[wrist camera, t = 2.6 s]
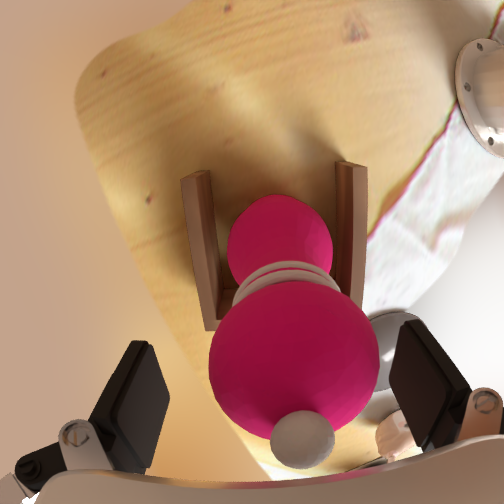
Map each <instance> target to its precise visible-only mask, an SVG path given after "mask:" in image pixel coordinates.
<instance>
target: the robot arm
mask: <svg viewBox="0 0 504 504" xmlns="http://www.w3.org/2000/svg"><path fill="white" fill-rule="evenodd" d="M455 85H456V91H457V97H458V101H459V104H460V108H461V111H462V113H463V116H464V118H465V121H466V123H467V125H468V127H469V129H470V131H471V132H472V134H473V135H474V137H475V138H476V140H477V141H478V142H479V143H480V144H481V145H482V147H483V148H484V149H485V150H487V151H488V152H489V153H491V154H492V155H494V156H497V157H499V158H503V159H504V45H501V44H500V43H498V42H496V41H493V40H491V39H485V38H482V39H476V40H474V41H471V42H469V43H468V44H466V45H465V46H464V47H463V48H462V50H461V51H460V53H459V56H458V58H457V61H456V69H455ZM389 384H390V387H391V389H392V391H393V393H394V395H395V397H396V400H397V402H398V404H399V406H400V408H401V411H402V413H403V415H404V417H405V420H406V422H407V424H408V427H409V429H410V431H411V434H412V436H413V438H414V441H415V443H416V445H417V446H418V447H421V448H422V451H423V453H422V454H419V455H415V456H412V457H409V458H405V459H402V460H398V461H394V462H391V463H387V464H383V465H379V466H375V467H370V468H366V469H361V470H356V471H351V472H345V473H339V474H333V475H327V476H320V477H312V478H304V479H293V480H281V481H263V482H214V481H213V482H212V481H196V480H183V479H173V478H163V477H156V476H148V475H145V471H146V468H150V466H151V463H152V460H153V456H154V453H155V449H156V446H157V442H158V439H159V435H160V432H161V428H162V425H163V421H164V418H165V415H166V411H167V408H168V404H169V401H170V395H169V391H168V389H167V386H166V383H165V380H164V378H163V375H162V372H161V369H160V367H159V363H158V360H157V357H156V354H155V352H154V348H153V346H152V345H151V344H148V342H147V341H137V340H134V341H131V343H130V344H129V346H128V348H127V350H126V351H125V353H124V355H123V357H122V359H121V361H120V363H119V364H118V366H117V368H116V370H115V371H114V373H113V374H112V376H111V377H110V379H109V381H108V383H107V385H106V387H105V388H104V390H103V392H102V394H101V396H100V398H99V400H98V402H97V404H96V406H95V408H94V409H93V411H92V413H91V415H90V418H89V419H88V421H86V420H81V419H77V420H72V421H70V422H68V423H66V424H65V425H64V426H63V427H62V428H61V430H60V432H59V435H58V439H59V441H58V442H57V443H54V444H51V445H49V446H47V447H44V448H42V449H39V450H37V451H34V452H32V453H30V454H27V455H25V456H23V457H21V458H20V459H19V460H18V461H17V463H16V465H15V474H11V473H9V474H7V475H6V476H5V477H3V478H2V479H1V480H0V504H504V407H503V401H502V398H501V396H500V395H499V394H498V393H497V392H496V391H494V390H493V389H490V388H478V389H476V390H474V391H472V389H471V388H470V386H469V384H468V383H467V381H466V380H465V378H464V377H463V376H462V374H461V373H460V371H459V370H458V368H457V367H456V366H455V364H454V363H453V362H452V360H451V359H450V357H449V356H448V355H447V353H446V352H445V351H444V349H443V348H442V347H441V346H440V344H439V343H438V342H437V340H436V339H435V338H434V337H433V335H432V334H431V332H430V331H429V330H428V329H427V327H426V326H425V325H424V324H423V322H422V321H421V320H420V319H413V320H407V321H405V322H404V324H403V325H401V326H400V329H399V334H398V339H397V344H396V348H395V353H394V357H393V361H392V365H391V369H390V373H389ZM135 473H137V474H135ZM141 474H143V475H141Z"/></svg>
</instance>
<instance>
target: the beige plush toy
mask: <svg viewBox="0 0 504 504" xmlns="http://www.w3.org/2000/svg"><path fill="white" fill-rule="evenodd" d="M375 438H376V443H377V446H378V452H379V454H380V455H381V456H383V457H386V458H388V459H387V463H391V462H394V461H395V458H396V456H398V455H399V454H401V453H403V452H405V451H406V450H407V449H409V448H411V447H413V446H414V445H415V444H416V443H415V441H414V438H413V436H412V434H411V431H410V429H409V427H408V424H407V422H406V420H405V417H404V415H403V413H402V411H401V410H399V411H396V412H394V413H392V414H390V415H389V416H388V417H387V418H386V419H385V420H383V421H382V422H381V423H380V424H379V426H378V428H377V430H376V435H375ZM387 463H386V464H387Z"/></svg>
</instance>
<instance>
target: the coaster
mask: <svg viewBox="0 0 504 504" xmlns="http://www.w3.org/2000/svg"><path fill="white" fill-rule="evenodd" d="M413 319H420V318H418V317H417V316H415V315H413V314H410V313H405V312H393V313H388V314H384V315H381V316H378V317H376V318H373V319H372V320H370V323H371V325H372V328H373V330H374V332H375V335H376V338H377V342H378V346H379V357H380V369H379V374H378V379H377V384H376V386H375V389H374V391H373V392H378V391H382V390H386V389H389V388H391V387H390V384H389V373H390V369H391V365H392V361H393V357H394V353H395V348H396V344H397V339H398V334H399V329H400V326H401V325H403V324H404V322H405V321H407V320H413ZM420 320H421V319H420ZM421 321H422V320H421ZM422 322H423V321H422ZM423 324H424V322H423ZM424 325H425V324H424ZM425 326H426V325H425ZM426 327H427V326H426ZM427 329H428V328H427Z"/></svg>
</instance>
